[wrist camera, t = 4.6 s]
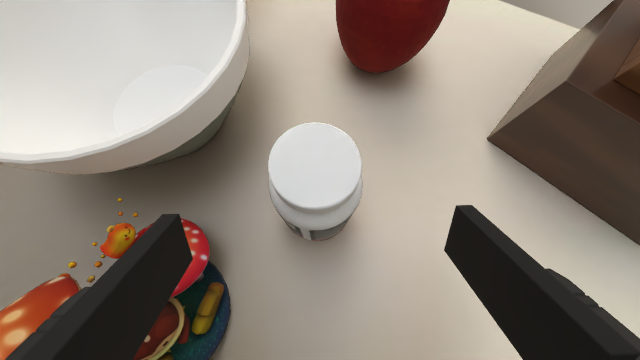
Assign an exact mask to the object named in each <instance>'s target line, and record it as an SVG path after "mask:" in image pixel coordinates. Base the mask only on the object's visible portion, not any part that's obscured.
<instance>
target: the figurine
mask: <svg viewBox="0 0 640 360" xmlns="http://www.w3.org/2000/svg"><path fill="white" fill-rule="evenodd" d="M118 201H119V202H121V201H122V199H121V198H118ZM118 215H120V216H121V215H123V213H122V212H119V213H118ZM133 216H134V217H137V216H138V214H137V213H133ZM181 221H182V225H183V228H184V231H185V234H186V237H187V241H188V244H189V247H190V250H191V253H192V257H193V260H192V262H191V264H190V265H189V267H188V269H187V270H186V272H185V274H184V275H183V277H182V279H181V280H180V282H179V284H178V285H177V287H176V289H175V290H174V292H173V294H172V295H171V297H170V299H169V300H168V302H167V304H166V305H165V307H164V309H163V310H162V312H161V314H160V315H159V317H158V318H157V320H156V322H155V323H154V325H153V327H152V328H151V330H150V332H149V333H148V335H147V337H146V338H145V340H144V342H143V343H142V345H141V347H140V348H139V350H138V352H137V353H136V355H135V357H134V358H133V360H208V359H209V358H210V357H211V355H212V354H213V353H214V351H215V350H216V348H217V346H218V344H219V343H220V341H221V339H222V337H223V335H224V332H225V330H226V327H227V324H228V320H229V316H230V312H231V311H230V297H229V293H228V289H227V286H226V283H225V281H224V279H223V277H222V275H221V274H220V272H219V271H218V270H217V268H216V267H215V266H214V265H213V264H212V263H211V262H210V261H209V260H208V259H209V252H210V248H209V243H208V240H207V238H206V235H205V234H204V233H203V231H202V230H201V229H200V228H199V227H198V226H197V225H196V224H194V223H192V222H191V221H188V220H185V219H182V218H181ZM153 224H154V223H152V224H151V225H149V226H147V227H145V228H144V229H142V230H141V231H140V232H138V233H137V234H136V230H135V228H134V227H133V226H132V225H131V224H128V223H120V224H117V225H115V226H113V225H110V226H109V227H108V228H107V232H109V234H108V237H107V240H106V241H105V242H104V244H102V245H101V246H100V249H101V251H102V252H103V253H104V254H105V255H107V256H109V257H111V258H116V259H118V258H120V257H121V256H122V255H123V254H124V253H125V252H126V251H127V250H128V249H129V248H130V247H131V246H132V245H133V244H134V243H135V242H136V241H137V240H138V239H139V238H140V237H141V236H142V235H143V234H144V233H145V232H146V231H147V230H148V229H149V228H150V227H151V226H152V225H153ZM92 245H93V246H96V245H97V243H96V242H94V243H93V244H92ZM105 255H101V258H105ZM76 265H77V263H75V262H71V263H69V264H68V267H70V268H74V267H76ZM100 266H102V262H100V261H98V262H96V263H95V267H97V268H98V267H100ZM94 279H95V276H92V275H91V276H90V277H89V278H88V279H87V282H89V283H91V282H92V281H93V280H94ZM80 290H81V287H80V286H79V284H78V283H77V281H76V280H74V279H73V278H72V277H71V276H70V275H69V274H67V273H65V274H61V275H60V276H58V278H55V279H52V280H49V281H47V282H45V283H43V284H41V285H40V286H38V287H36V288H35V289H33V290H31V291H30V292H28V293H27V294H25V295H23V296H22V297H20V298H19V299H17V300H16V301H14V302H13V303H11V304H10V305H9V306H7V307H6V308H4V309H3V310H2V311H0V360H5V359H6V358H7V357H8V356H9V355H10V354H11V353H12V352H13V351H14V350H15V349H16V348H17V347H18V346H19V345H20V344H21V343H22V342H23V341H24V340H25V339H26V338H27V337H28V336H29V335H30V334H31V333H32V332H35V331H36V329H37V328H38V327H39V326H40V325H41V324H42V323H43V322H44V321H45V320H46V319H49V318H50V315H51V314H52V313H53V312H54V311H55V310H56V309H57V308H58V307H59V306H60V305H61V304H63V303H64V302H65V301H66V300H67V299H68V298H70V297H71V296H73V295H74V294H76V293H77V292H79V291H80Z"/></svg>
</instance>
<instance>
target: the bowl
mask: <svg viewBox="0 0 640 360" xmlns="http://www.w3.org/2000/svg"><path fill="white" fill-rule="evenodd" d="M249 55H250V51H249V17H248V11H247V6H246V1H245V0H0V163H1V164H5V165H9V166H12V167H16V168H21V169H29V170H36V171H44V172H53V173H65V174H78V175H83V174H93V173H103V172H113V171H116V170H125V169H132V168H136V167H140V166H148V165H153V164H156V163H160V162H164V161H167V160H170V159H173V158H177V157H181V156H184V155H186V154H188V153H191V152H193V151H195V150H196V149H198V148H199V147H201V146H203V145H204V144H205V143H206V142H208V141H209V140H210V139H211V138H212V137H213V136H214V135H215V133H216V132H217V131H218V129H219V128H220V127H221V125H222V123H223V121H224V119H225V118H226V116H227V115H228V113H229V111H230V109H231V107H232V105H233V103H234V100H235V97H236V95H237V93H238V91H239V89H240V86H241V83H242V80H243V77H244V75H245V72H246V68H247V63H248V59H249Z"/></svg>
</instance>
